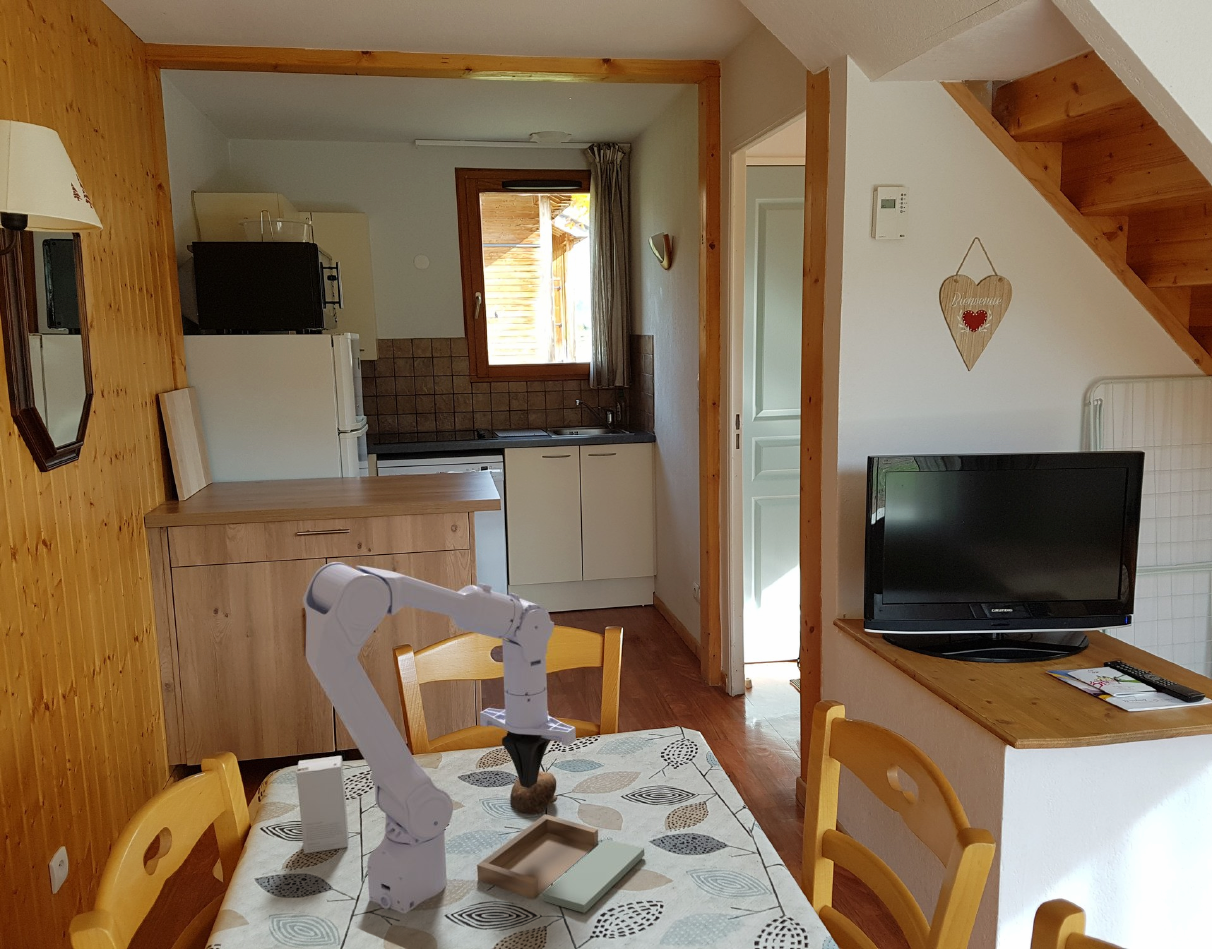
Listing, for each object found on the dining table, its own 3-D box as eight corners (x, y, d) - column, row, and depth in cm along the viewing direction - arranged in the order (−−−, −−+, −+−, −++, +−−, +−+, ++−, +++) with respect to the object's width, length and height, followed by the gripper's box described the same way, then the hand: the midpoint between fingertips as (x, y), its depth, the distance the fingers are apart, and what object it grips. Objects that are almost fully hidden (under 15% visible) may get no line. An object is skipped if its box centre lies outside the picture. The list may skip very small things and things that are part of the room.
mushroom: (572, 779, 144) (548, 753, 141) (566, 821, 137) (541, 795, 134) (531, 796, 146) (506, 771, 144) (522, 839, 139) (497, 814, 137)
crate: (478, 890, 120) (477, 865, 120) (545, 837, 133) (545, 814, 132) (534, 910, 116) (533, 883, 115) (598, 853, 128) (597, 829, 128)
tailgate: (542, 893, 115) (584, 905, 112) (605, 839, 127) (644, 848, 124) (543, 901, 115) (584, 913, 112) (605, 846, 127) (644, 855, 124)
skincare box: (349, 833, 135) (343, 753, 134) (348, 849, 131) (343, 766, 129) (304, 840, 134) (298, 758, 132) (302, 856, 129) (296, 772, 128)
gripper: (587, 687, 126) (589, 784, 128) (500, 670, 134) (504, 761, 136) (557, 705, 120) (560, 805, 122) (468, 686, 128) (473, 781, 130)
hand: (528, 784), depth 129 cm, fingers closed
